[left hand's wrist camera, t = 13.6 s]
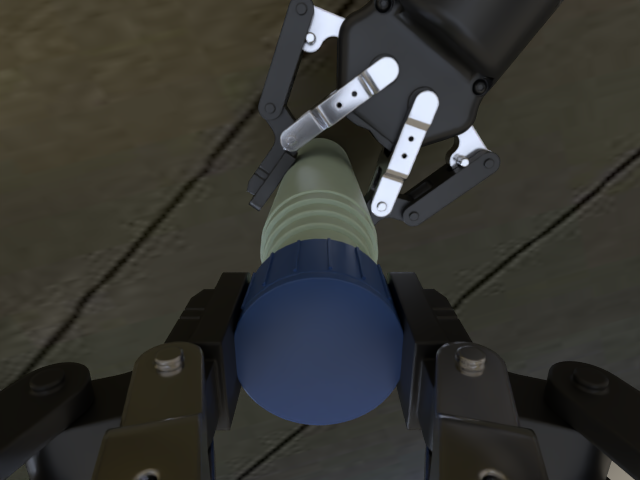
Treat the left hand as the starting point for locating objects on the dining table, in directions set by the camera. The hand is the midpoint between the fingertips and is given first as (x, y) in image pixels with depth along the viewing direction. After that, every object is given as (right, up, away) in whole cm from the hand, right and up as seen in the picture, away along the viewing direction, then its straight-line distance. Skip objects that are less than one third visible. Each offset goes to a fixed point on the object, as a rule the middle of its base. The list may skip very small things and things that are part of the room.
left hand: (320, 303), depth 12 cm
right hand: (-2, +2, +13) cm, 13 cm away
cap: (0, -1, -2) cm, 2 cm away
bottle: (0, +7, +19) cm, 20 cm away
